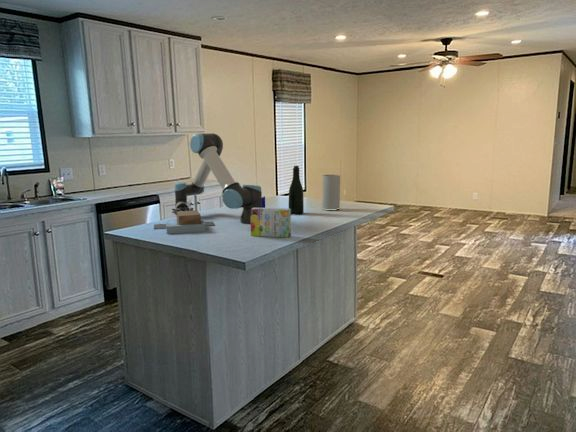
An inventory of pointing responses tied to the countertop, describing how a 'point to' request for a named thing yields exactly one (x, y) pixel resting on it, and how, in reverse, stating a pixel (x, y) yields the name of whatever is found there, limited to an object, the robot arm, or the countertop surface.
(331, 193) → the cylinder vase
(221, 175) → the robot arm
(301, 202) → the beer bottle
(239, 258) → the countertop surface
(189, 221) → the walnut block
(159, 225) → the mats
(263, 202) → the puzzle cube
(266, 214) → the snack box
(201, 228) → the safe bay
